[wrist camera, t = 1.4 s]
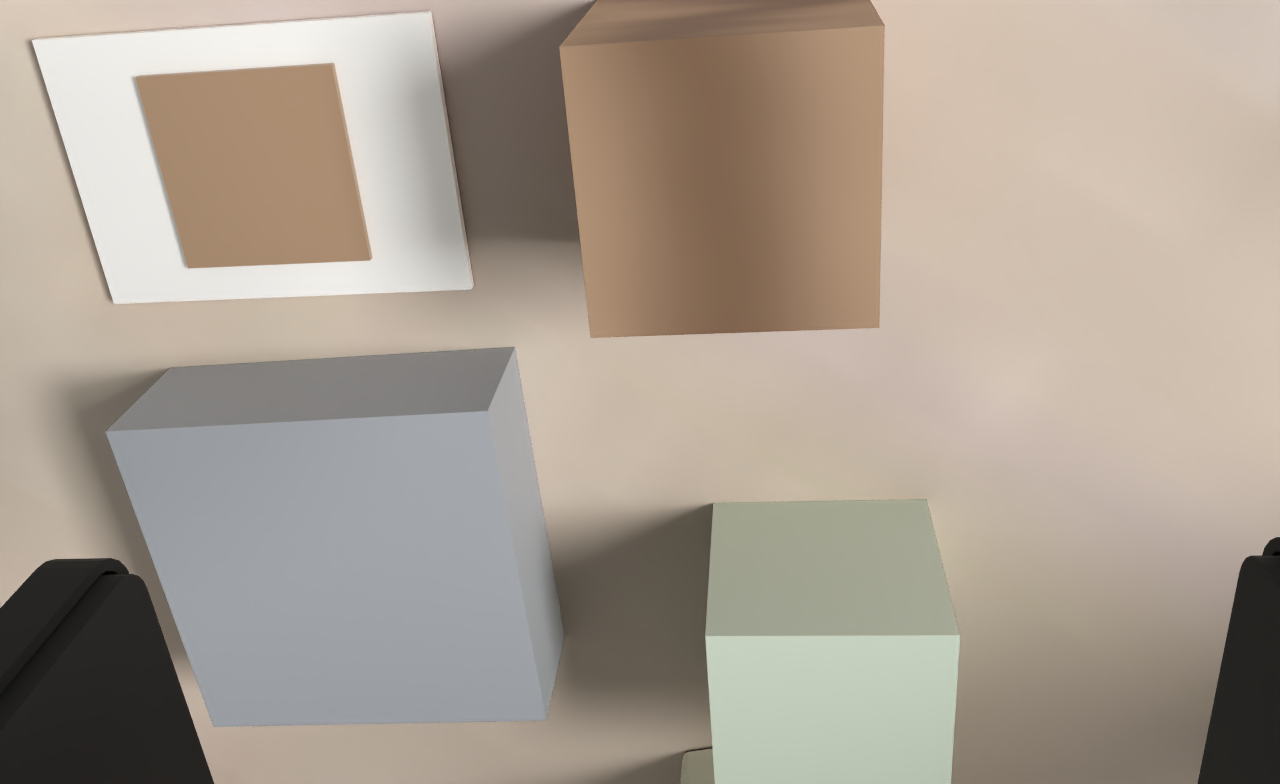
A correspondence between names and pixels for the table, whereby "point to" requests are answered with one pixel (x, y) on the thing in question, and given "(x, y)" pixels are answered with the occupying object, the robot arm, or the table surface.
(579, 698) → the table surface
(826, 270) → the walnut cube
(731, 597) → the sage cube
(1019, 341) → the table surface
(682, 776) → the skincare box
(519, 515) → the slate base block
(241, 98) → the card
